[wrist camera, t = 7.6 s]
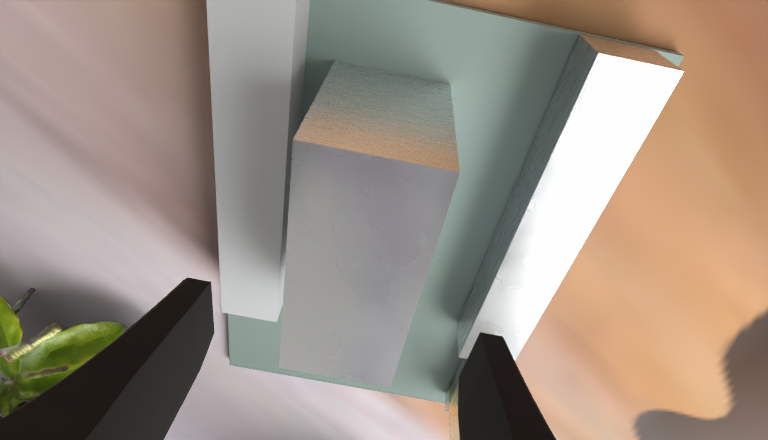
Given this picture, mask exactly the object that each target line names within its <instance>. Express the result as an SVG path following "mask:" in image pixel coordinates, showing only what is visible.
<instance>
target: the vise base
mask: <svg viewBox="0 0 768 440" xmlns="http://www.w3.org/2000/svg"><path fill="white" fill-rule="evenodd" d="M206 2H207V22H208V43H209V63H210V84H211V104H212V124H213V145H214V165H215V185H216V206H217V226H218V247H219V267H220V287H221V308H222V312H223V313H228V333H229V360H230V365H233V366H239V367H244V368H250V369H256V370H261V371H267V372H272V373H278V374H284V375H289V376H295V377H301V378H306V379H312V380H317V381H323V382H329V383H334V384H340V385H346V386H351V387H357V388H363V389H368V390H374V391H379V392H385V393H391V394H396V395H402V396H408V397H413V398H419V399H424V400H430V401H436V402H441V403H445V393H446V391H447V389H448V387H449V384H450V382H451V380H452V378H453V376H454V374H455V372H456V369H457V367H458V365H459V363H460V361H461V359H462V358H459V354H458V338H457V322H458V319H459V317H460V314H461V312H462V310H463V307H464V305H465V303H466V300H467V298H468V296H469V293H470V291H471V289H472V286H473V284H474V281H475V279H476V277H477V274H478V272H479V270H480V267H481V265H482V263H483V260H484V258H485V255H486V253H487V251H488V248H489V246H490V244H491V241H492V239H493V237H494V234H495V232H496V230H497V227H498V225H499V222H500V220H501V218H502V215H503V213H504V211H505V208H506V206H507V204H508V201H509V199H510V196H511V194H512V192H513V189H514V187H515V185H516V182H517V180H518V178H519V175H520V173H521V171H522V168H523V166H524V163H525V161H526V159H527V156H528V154H529V152H530V149H531V147H532V145H533V142H534V140H535V137H536V135H537V133H538V130H539V128H540V126H541V123H542V121H543V119H544V116H545V114H546V111H547V109H548V107H549V104H550V102H551V100H552V97H553V95H554V93H555V90H556V88H557V86H558V83H559V81H560V78H561V76H562V74H563V71H564V69H565V67H566V64H567V62H568V60H569V57H570V55H571V52H572V50H573V48H574V45H575V43H576V41H577V38H578V36H579V34H581V35H586V36H591V37H595V38H600V39H604V40H609V41H614V42H618V43H623V44H627V45H632V46H637V47H641V48H646V49H650V50H655V51H657V52H658V53H659V54H661V55H662V56H664V57H665V58H666V59H668V60H669V61H670V62H672V63H673V64H675V65H676V66H677V67H678V66H679V64H680V63H681V61H682V59H683V57H684V56H683V55H682V54H680V53H679V52H674V51H669V50H665V49H660V48H656V47H651V46H646V45H642V44H637V43H633V42H628V41H623V40H619V39H614V38H610V37H605V36H601V35H596V34H591V33H587V32H582V31H578V30H573V29H568V28H564V27H559V26H555V25H550V24H545V23H541V22H536V21H532V20H527V19H523V18H518V17H513V16H509V15H504V14H500V13H495V12H490V11H486V10H481V9H477V8H472V7H468V6H463V5H458V4H454V3H449V2H445V1H440V0H206ZM335 60H337V61H342V62H347V63H351V64H356V65H361V66H366V67H371V68H376V69H381V70H386V71H391V72H396V73H401V74H406V75H410V76H415V77H420V78H425V79H430V80H435V81H440V82H445V83H450V85H451V94H452V103H453V113H454V122H455V131H456V140H457V149H458V158H459V167H460V174H459V177H458V180H457V183H456V186H455V189H454V193H453V196H452V199H451V202H450V205H449V208H448V211H447V214H446V217H445V220H444V224H443V227H442V230H441V233H440V236H439V239H438V242H437V245H436V248H435V251H434V255H433V258H432V261H431V264H430V267H429V270H428V273H427V276H426V279H425V283H424V286H423V289H422V292H421V295H420V298H419V301H418V304H417V307H416V310H415V314H414V317H413V320H412V323H411V326H410V329H409V332H408V335H407V338H406V341H405V345H404V348H403V351H402V354H401V357H400V360H399V363H398V366H397V369H396V373H395V376H394V379H393V382H392V385H391V387H386V386H380V385H374V384H369V383H363V382H357V381H351V380H346V379H340V378H334V377H328V376H323V375H317V374H311V373H306V372H300V371H294V370H288V369H283V368H279V358H280V342H281V325H282V309H283V293H284V276H285V260H286V243H287V227H288V211H289V194H290V178H291V162H292V145H293V138H294V136H295V135H296V133H297V131H298V129H299V127H300V125H301V123H302V121H303V120H304V118H305V116H306V114H307V112H308V110H309V108H310V107H311V105H312V103H313V101H314V99H315V97H316V95H317V93H318V92H319V90H320V88H321V86H322V84H323V82H324V80H325V78H326V77H327V75H328V73H329V71H330V69H331V67H332V65H333V64H334V62H335Z"/></svg>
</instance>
